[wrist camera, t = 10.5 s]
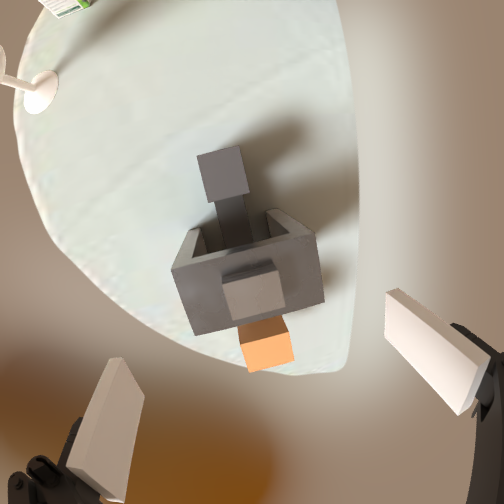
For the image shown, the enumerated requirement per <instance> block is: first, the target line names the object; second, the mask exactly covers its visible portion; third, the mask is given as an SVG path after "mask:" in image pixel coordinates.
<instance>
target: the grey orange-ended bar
mask: <svg viewBox="0 0 504 504" xmlns="http://www.w3.org/2000/svg"><path fill="white" fill-rule="evenodd" d="M197 160H198V164H199V168H200V172H201V176H202V180H203V184H204V188H205V192H206V196H207V200H208V203H210V202H214V203H215V207H216V211H217V215H218V219H219V223H220V227H221V230H222V234H223V238H224V242H225V246H226V249H230V248H234V247H238V246H242V245H246V244H249V243H253V238H252V233H251V229H250V225H249V221H248V216H247V212H246V208H245V204H244V199H243V195H242V194H246V193H250V191H249V186H248V182H247V178H246V173H245V169H244V165H243V161H242V156H241V152H240V148H239V146H235V147H230V148H226V149H222V150H218V151H214V152H210V153H206V154H202V155H198V156H197ZM237 327H238V334H239V341H240V346H241V349H242V352H243V355H244V358H245V362H246V365H247V368H248V370H249V372H253V371H258V370H262V369H266V368H270V367H273V366H277V365H281V364H284V363H288V362H291V361H294V356H293V351H292V346H291V341H290V335H289V331H288V329H287V327H286V324H285V322H284V320H283V318H282V315H279V316H275V317H271V318H268V319H264V320H260V321H256V322H252V323H248V324H244V325H240V326H237Z"/></svg>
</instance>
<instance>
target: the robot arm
mask: <svg viewBox="0 0 504 504" xmlns="http://www.w3.org/2000/svg"><path fill="white" fill-rule="evenodd" d="M384 336H385V338H386V339H387V340H388V341H389V342H390V343H391V344H392V345H393V346H394V347H395V348H396V349H397V350H398V351H399V352H400V353H401V354H402V356H403V357H404V358H405V359H406V360H407V361H408V362H409V363H410V364H411V365H412V366H413V367H414V368H415V369H416V370H417V371H418V372H419V374H420V375H421V376H422V377H423V378H424V379H425V380H426V381H427V382H428V383H429V384H430V385H431V386H432V388H433V389H434V390H435V391H436V392H437V393H438V394H439V395H440V396H441V397H442V398H443V400H444V401H445V402H446V403H447V404H448V405H449V406H450V407H451V408H452V410H453V411H455V413H456V414H457V415H459V414H461V413H462V412H464V411H465V410H466V409H467V408H469V407H470V406H471V404H472V402H473V400H474V398H475V397H476V398H477V399H478V400H479V401H478V403H477V405H476V407H475V409H474V411H473V413H472V418H473V417H474V416H475V414H476V412H477V426H476V427H477V428H476V442H475V453H474V462H473V469H472V476H471V482H470V487H469V493H468V497H467V501H466V504H504V352H502V353H501V354H500V353H498V352H497V351H496V350H494V349H493V348H492V347H491V346H489V345H488V344H487V343H485V342H484V341H483V340H481V339H480V338H479V337H478V338H477V336H476V335H475V334H473V333H471V332H470V331H469V330H468V329H466V328H465V327H464V326H461V325H458V324H455V323H452V324H450V325H449V324H448V323H446V322H445V321H444V320H442V319H441V318H439V317H438V316H437V315H435V314H434V313H433V312H431V311H430V310H428V309H427V308H426V307H424V306H423V305H421V304H420V303H419V302H417V301H416V300H414V299H413V298H411V297H410V296H409V295H407V294H406V293H404V292H403V291H401V290H400V289H399V288H397V289H394V290H391V291H388V292H386V310H385V335H384ZM144 397H145V396H144V394H143V393H142V391H141V389H140V388H139V386H138V384H137V383H136V381H135V379H134V377H133V376H132V374H131V372H130V370H129V369H128V367H127V365H126V363H125V361H124V359H123V357H118V358H111V359H109V361H108V363H107V365H106V367H105V369H104V372H103V374H102V376H101V378H100V380H99V383H98V385H97V387H96V390H95V392H94V394H93V396H92V399H91V401H90V403H89V406H88V408H87V410H86V413H85V415H84V417H79V418H78V419H77V421H76V422H75V423H74V424H73V425H72V428H71V430H70V433H69V436H68V438H67V440H66V441H67V443H65V445H64V448H63V451H62V453H61V456H60V459H59V461H58V464H57V466H56V465H55V464H54V463H53V462H52V461H51V460H50V459H48V458H47V457H46V456H43V455H38V456H35V457H33V458H32V459H31V460H30V461H29V463H28V465H27V468H26V472H27V474H28V475H29V476H30V477H31V478H32V479H30V478H29V477H28V476H27V475H26V474H24V473H23V472H15V473H13V474H12V475H11V476H10V478H9V480H8V504H103V503H102V502H101V501H100V500H99V498H100V495H101V496H103V497H104V498H106V499H107V500H108V501H114V502H122V503H124V502H125V495H126V489H127V482H128V476H129V470H130V465H131V459H132V454H133V449H134V443H135V439H136V434H137V429H138V424H139V419H140V415H141V411H142V406H143V402H144Z"/></svg>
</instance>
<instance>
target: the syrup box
mask: <svg viewBox="0 0 504 504" xmlns="http://www.w3.org/2000/svg"><path fill="white" fill-rule="evenodd" d="M38 1H39V2H41V3H42V4H43V5H44V6H45V7H46V8H47V9H49V10H50V11H51V12H52V13H53V14H54V15H55V16H56V17H57V18H59V19H60V18H62V17H64V16H66V15H69V14H71V13H74V12H76V11H79V10H81V9H84V8H86V7H89V6H90V3H91V0H38Z"/></svg>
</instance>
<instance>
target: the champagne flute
mask: <svg viewBox="0 0 504 504" xmlns="http://www.w3.org/2000/svg"><path fill="white" fill-rule="evenodd" d="M5 65H6V57H5V52H4V49H3V48H2V47H1V45H0V83H1V84H4V85H8V86H11V87H14V88H17V89H21V90H24V91H26V92H25V96H24V106H25V108H26V110H27V111H28V112H29V113H31V114H36V113H39V112H41V111H43V110H44V109H46V108H47V107H48V106H49V104H50V103H51V102H52V100H53V98H54V97H55V94H56V92H57V88H58V77H57V75H56V73H55V72H53V71H51V70H46V71H43V72H41V73H39V74H38V75H37V76H35V77H34V78H33V80H32V81H31V82H30V83H28V82H25V81H23V80H20V79H17V78H14V77H11V76H9V75H6V74H4V73H5Z"/></svg>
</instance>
